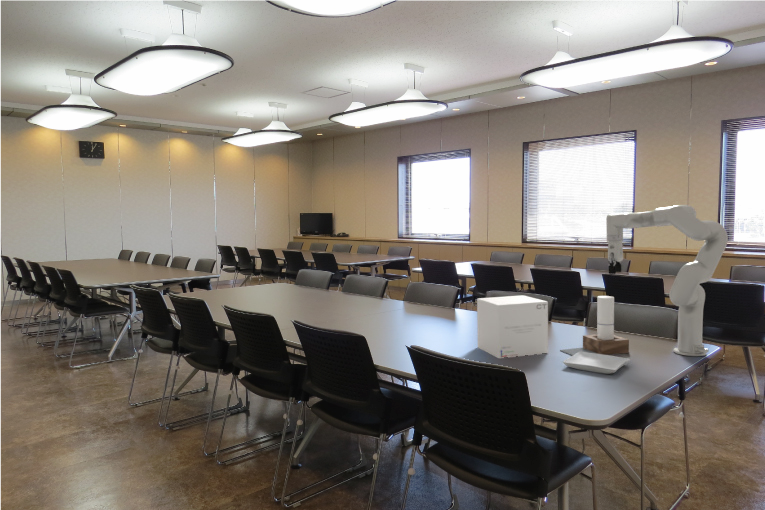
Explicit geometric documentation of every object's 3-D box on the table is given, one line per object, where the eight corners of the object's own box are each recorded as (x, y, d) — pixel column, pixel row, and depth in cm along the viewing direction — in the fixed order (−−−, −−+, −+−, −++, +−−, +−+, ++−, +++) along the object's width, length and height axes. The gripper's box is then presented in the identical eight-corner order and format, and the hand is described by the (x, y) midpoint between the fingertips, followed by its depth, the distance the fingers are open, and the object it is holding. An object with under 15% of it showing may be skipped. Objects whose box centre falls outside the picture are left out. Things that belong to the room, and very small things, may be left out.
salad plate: (579, 358, 232) (579, 350, 232) (630, 365, 218) (630, 357, 218) (561, 369, 216) (561, 361, 215) (615, 378, 202) (615, 369, 202)
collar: (628, 352, 238) (628, 339, 237) (602, 355, 234) (602, 342, 234) (607, 345, 251) (608, 333, 251) (582, 348, 248) (582, 335, 247)
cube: (498, 359, 233) (498, 305, 232) (477, 348, 254) (477, 298, 252) (547, 354, 240) (547, 301, 238) (523, 343, 260) (523, 295, 259)
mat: (599, 354, 235) (599, 353, 235) (576, 357, 232) (576, 356, 232) (582, 348, 246) (582, 347, 246) (560, 350, 243) (560, 349, 243)
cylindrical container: (596, 351, 241) (596, 297, 240) (597, 347, 248) (598, 295, 246) (613, 352, 238) (613, 298, 236) (614, 349, 244) (614, 296, 242)
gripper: (617, 239, 251) (618, 274, 252) (627, 237, 265) (627, 271, 266) (601, 239, 256) (602, 274, 257) (611, 238, 269) (612, 271, 270)
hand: (615, 272), depth 261 cm, fingers open, 9 cm apart
